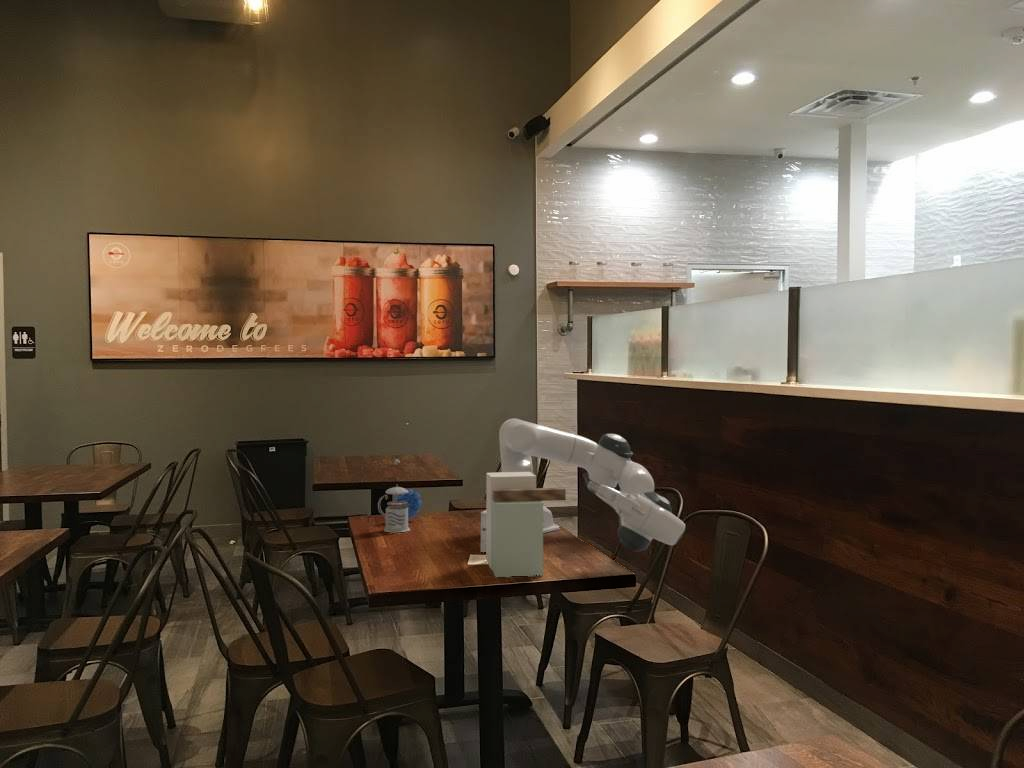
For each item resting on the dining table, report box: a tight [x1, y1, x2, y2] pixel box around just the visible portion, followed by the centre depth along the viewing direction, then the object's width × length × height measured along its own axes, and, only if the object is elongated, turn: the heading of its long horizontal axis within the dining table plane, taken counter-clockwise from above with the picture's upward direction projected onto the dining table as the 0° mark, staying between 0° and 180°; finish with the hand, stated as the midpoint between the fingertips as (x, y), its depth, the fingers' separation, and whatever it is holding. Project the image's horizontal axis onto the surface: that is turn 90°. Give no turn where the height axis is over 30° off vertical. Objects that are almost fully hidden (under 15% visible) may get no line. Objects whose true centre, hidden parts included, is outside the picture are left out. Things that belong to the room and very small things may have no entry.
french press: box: [377, 459, 411, 533], centre depth 269 cm, size 10×12×25 cm
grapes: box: [392, 488, 423, 522], centre depth 286 cm, size 12×7×12 cm, turn 108°
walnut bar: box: [493, 487, 567, 502], centre depth 214 cm, size 20×3×3 cm, turn 99°
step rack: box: [485, 471, 544, 578], centre depth 218 cm, size 13×19×26 cm
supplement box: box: [480, 509, 486, 553], centre depth 238 cm, size 7×7×13 cm
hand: (593, 486), depth 217 cm, fingers open, 8 cm apart
